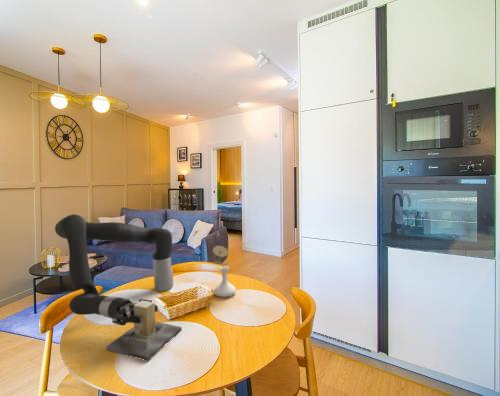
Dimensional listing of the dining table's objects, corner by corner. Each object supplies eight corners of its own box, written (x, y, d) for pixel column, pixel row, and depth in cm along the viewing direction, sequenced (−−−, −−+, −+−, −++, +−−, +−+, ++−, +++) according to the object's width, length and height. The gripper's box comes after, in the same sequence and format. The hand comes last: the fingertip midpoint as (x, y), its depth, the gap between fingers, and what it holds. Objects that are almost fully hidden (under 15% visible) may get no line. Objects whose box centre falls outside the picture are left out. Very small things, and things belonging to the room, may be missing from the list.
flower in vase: (240, 292, 132) (239, 244, 131) (227, 300, 123) (225, 250, 121) (221, 287, 139) (219, 242, 138) (207, 295, 130) (205, 247, 128)
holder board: (145, 322, 105) (144, 314, 105) (181, 330, 99) (181, 321, 99) (106, 350, 88) (106, 340, 88) (148, 361, 82) (147, 351, 82)
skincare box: (134, 337, 92) (132, 305, 92) (143, 331, 97) (141, 299, 96) (148, 341, 90) (146, 307, 89) (156, 334, 94) (155, 302, 94)
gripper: (98, 306, 91) (133, 313, 85) (129, 290, 104) (161, 295, 99) (99, 327, 92) (134, 335, 86) (130, 308, 105) (162, 314, 99)
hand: (148, 314), depth 92 cm, fingers open, 8 cm apart
